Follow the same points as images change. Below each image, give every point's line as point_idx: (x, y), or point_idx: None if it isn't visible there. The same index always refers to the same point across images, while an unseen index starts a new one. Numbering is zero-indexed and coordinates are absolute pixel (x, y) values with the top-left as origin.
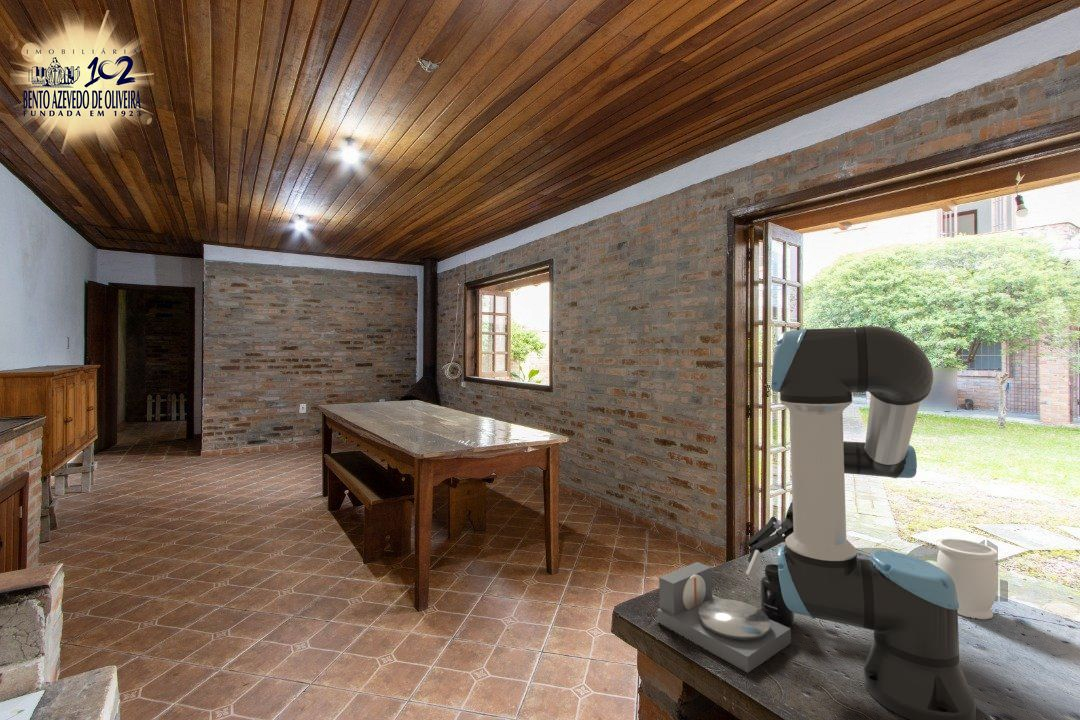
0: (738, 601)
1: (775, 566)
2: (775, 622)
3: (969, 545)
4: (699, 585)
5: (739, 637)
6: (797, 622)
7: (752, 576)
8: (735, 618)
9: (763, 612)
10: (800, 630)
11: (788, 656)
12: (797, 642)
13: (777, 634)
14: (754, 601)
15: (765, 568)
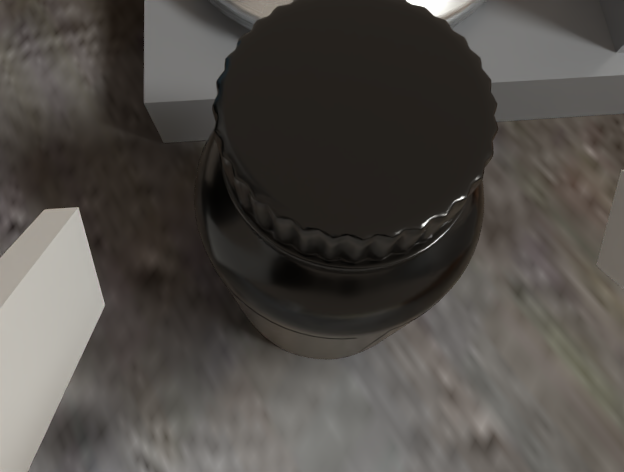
0: (440, 6)
1: (406, 142)
2: None
3: None
4: None
5: None
6: (252, 360)
7: (615, 245)
8: None
9: (269, 11)
10: (196, 291)
11: (118, 47)
12: (147, 173)
13: (157, 5)
14: (550, 369)
15: (442, 25)
